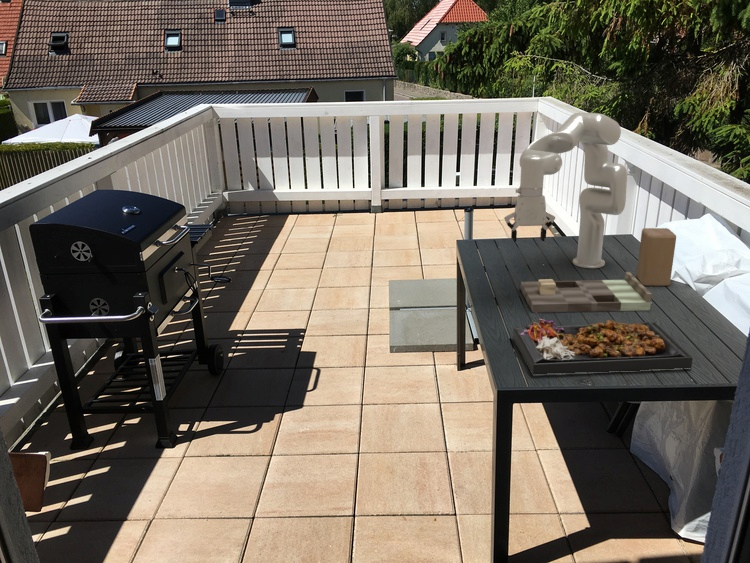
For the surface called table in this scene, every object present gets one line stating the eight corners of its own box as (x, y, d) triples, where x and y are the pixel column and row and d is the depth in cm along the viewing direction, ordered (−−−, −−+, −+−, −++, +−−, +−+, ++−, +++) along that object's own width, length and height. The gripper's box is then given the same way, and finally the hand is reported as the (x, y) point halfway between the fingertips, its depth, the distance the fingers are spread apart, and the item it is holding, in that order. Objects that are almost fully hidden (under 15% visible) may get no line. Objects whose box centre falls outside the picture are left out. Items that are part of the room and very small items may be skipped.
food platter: (532, 378, 185) (534, 345, 181) (512, 340, 208) (514, 310, 204) (690, 371, 186) (695, 338, 182) (653, 334, 209) (657, 304, 205)
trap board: (520, 289, 247) (521, 274, 245) (627, 287, 245) (629, 271, 243) (532, 312, 226) (533, 296, 224) (649, 310, 225) (651, 294, 223)
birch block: (537, 289, 238) (538, 279, 236) (551, 289, 237) (552, 279, 236) (540, 295, 233) (541, 284, 231) (554, 294, 233) (555, 284, 231)
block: (662, 277, 254) (668, 227, 247) (670, 286, 245) (677, 235, 238) (635, 277, 255) (641, 227, 248) (642, 286, 246) (649, 235, 239)
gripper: (507, 195, 219) (505, 244, 225) (559, 193, 219) (555, 243, 225) (503, 190, 226) (501, 237, 232) (554, 189, 226) (550, 236, 232)
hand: (528, 240), depth 228 cm, fingers open, 9 cm apart
